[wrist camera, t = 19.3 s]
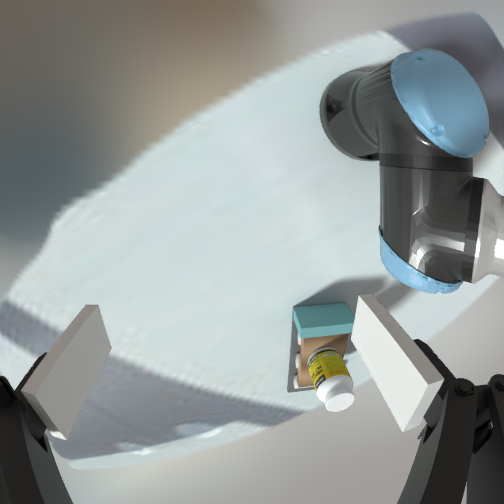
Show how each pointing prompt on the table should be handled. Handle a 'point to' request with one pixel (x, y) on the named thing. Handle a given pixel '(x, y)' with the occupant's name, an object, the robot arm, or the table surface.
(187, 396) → the table surface
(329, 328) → the roller bed
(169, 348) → the table surface
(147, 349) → the table surface
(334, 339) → the slab
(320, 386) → the pill bottle
